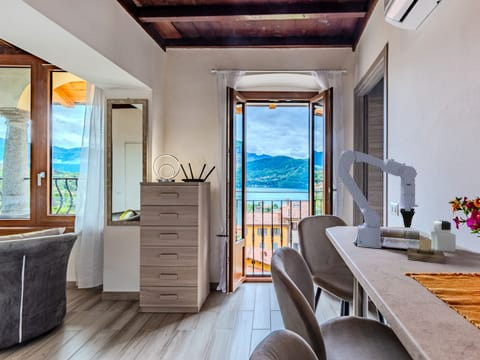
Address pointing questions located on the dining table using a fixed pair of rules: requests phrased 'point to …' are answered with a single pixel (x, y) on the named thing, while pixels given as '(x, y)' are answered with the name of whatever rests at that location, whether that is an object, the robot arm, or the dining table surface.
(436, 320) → the dining table surface
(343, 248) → the dining table surface
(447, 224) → the medicine bottle
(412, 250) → the square tan frame
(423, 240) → the brass peg
